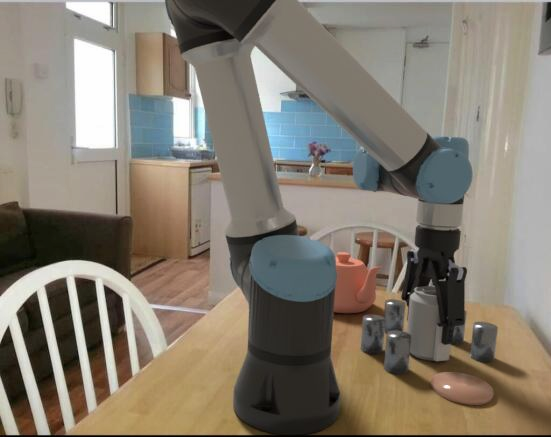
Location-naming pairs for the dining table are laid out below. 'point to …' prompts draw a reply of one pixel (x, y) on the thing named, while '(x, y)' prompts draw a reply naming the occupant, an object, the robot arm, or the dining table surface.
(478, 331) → the chrome peg cluster
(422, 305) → the can
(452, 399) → the pink flat disc
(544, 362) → the dining table surface
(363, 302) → the teapot
